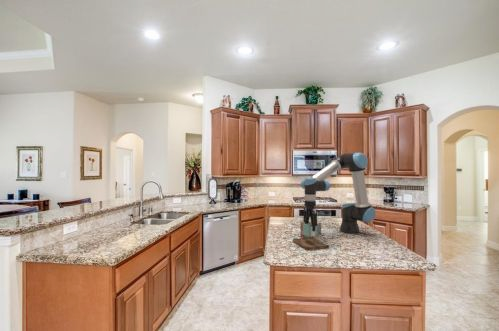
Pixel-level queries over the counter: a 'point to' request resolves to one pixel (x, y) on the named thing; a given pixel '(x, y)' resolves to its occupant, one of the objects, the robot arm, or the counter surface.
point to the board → (310, 243)
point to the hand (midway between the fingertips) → (309, 234)
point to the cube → (308, 229)
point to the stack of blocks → (310, 236)
